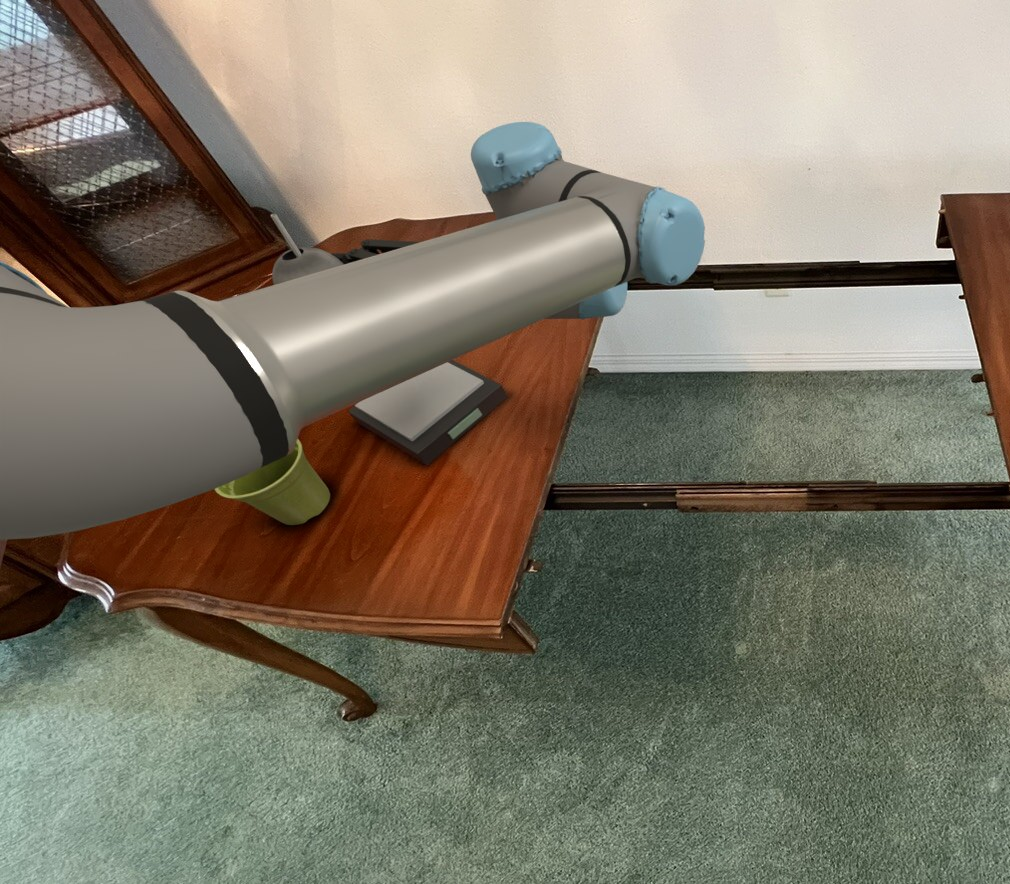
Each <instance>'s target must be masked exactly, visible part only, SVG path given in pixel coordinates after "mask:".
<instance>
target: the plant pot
mask: <svg viewBox="0 0 1010 884" xmlns="http://www.w3.org/2000/svg"><path fill="white" fill-rule="evenodd" d="M214 491H215V493H216V494H218V495H219V496H221V497H223V498H225V499H228V500H236V501H239V502H242V503H245V504H247V505H249V506H251V507H253V508H255V509H257V510H258V511H260V512H262V513H264V514H266V515H268V516H269V517H271V518H273V519H275V520H277V521H278V522H280V523H282V524H284V525H288V526H298V525H303V524H305V523H306V522H308V521H309V520H310V519H312V518H314V517H317V516H318V515H320V514H321V513H322V512H323V511H325V509H326V508H327V506H328V504H329V502H330V500H331V493H330V492H331V491H330V490H329V488H328V486H327V485H326V483H325V482H324V481H323V479H322V478H321V477H320V476H319V474H318V473H317V471H315V469H314V468H313V466H312V465H311V464H310V462H309V461H308V459H307V458H306V454H305V452H304V448H303V443H302V442H301V440H299V438H298V439H297V442H296V445H295V448H294V451H293V452H292V453H291V454H289V455H287V456H285V457H283V458H281V459H279V460H277V461H274V462H272V463H270V464H268V465H266V466H264V467H262V468H260V469H258V470H256V471H254V472H252V473H250V474H248V475H246V476H244V477H241V478H239V479H237V480H234V481H232V482H229V483H227V484H225V485H222V486H220V487H218V488H215V489H214Z"/></svg>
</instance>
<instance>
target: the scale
mask: <svg viewBox="0 0 1010 884" xmlns="http://www.w3.org/2000/svg"><path fill="white" fill-rule="evenodd" d="M508 398H509V396H508V394H507V392H506V391H505V388H504V387H503V385H502V384H501V383H499V382H497V381H496V380H495V381H494V380H493V379H491V378H489V377H488V376H485V375H483V374H481V373H479V372H478V371H475V370H473V369H471V368H469V367H467V366H465V365H464V364H462V363H460V362H458V361H456V360H455V359H454V360H451V361H449V362H447V363H445V364H443V365H440V366H438V367H436V368H434V369H431V370H429V371H427V372H425V373H423V374H420V375H418V376H416V377H414V378H411V379H409V380H407V381H405V382H403V383H400V384H398V385H396V386H394V387H392V388H389V389H387V390H385V391H383V392H380V393H378V394H376V395H374V396H372V397H369V398H367V399H365V400H363V401H360V402H358V403H356V404H354V406H353V407H352V408H351V409H349V410H348V411H347V412H348V414H349V416H351V417H352V418H353V420H355V422H356V423H357V424H358V425H360V426H362V427H363V428H365V429H366V430H367V431H369V432H371V433H373V434H374V435H376V436H378V437H379V438H381V439H383V440H384V441H386V442H387V443H389V444H390V445H392V446H394V447H396V448H397V449H399V450H400V451H402V452H403V453H405V454H407V455H408V456H410V457H411V458H413V459H415V460H416V461H418V462H419V463H421V464H423V465H425V466H426V467H427V466H428V465H430V464H431V463H432V462H433V461H434V460H435V459H437V458H438V457H439V456H440V455H442V454H443V453H444V452H445V451H446V450H447V449H448V448H450V447H451V446H452V445H453V444H455V443H456V442H457V441H458V440H459V439H460V438H462V437H463V436H464V435H465V434H466V433H467V432H469V431H470V430H471V429H472V428H474V427H475V426H476V425H477V424H478V423H479V422H481V420H483V419H484V418H485V417H486V416H488V415H489V414H490V413H491V412H492V411H493V410H495V408H497V407H498V406H500V404H502V403H504V401H505V400H506V399H508Z"/></svg>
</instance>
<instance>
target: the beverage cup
mask: <svg viewBox="0 0 1010 884" xmlns="http://www.w3.org/2000/svg"><path fill="white" fill-rule="evenodd" d="M270 218H271V219H272V221H273V223H274V225H275V226H276V227H277V229H278V230H279V232H280V233H281V235H282V236H283V238H284V240H285V241H286V243H287V245H288V246H289V248H290V249H288V250H286V251H285V252H283V253H282V254H280V255H279V257H278V258H277V259H276V260H275V262H274V264H273V268H272V272H271V278H272V283H273V285H276V284H280V283H283V282H286V281H290V280H293V279H297V278H300V277H304V276H307V275H310V274H314V273H317V272H321V271H324V270H328V269H331V268H335V267H338V266H341V265H344V264H343V263H342V262H341V261H340V260H339V259H338V258H336V257H335V256H333V255H331V254H330V252H328V251H326V250H323V249H321V248H317V247H310V246H298V247H297V245H296V243H295V242H294V240H293V238H292V237H291V235H290V233H289V232H288V230H287V229H286V227H285V225H284V224H283V222H282V221H281V220H280V218H279V216H278V215H277V214H276V213H272V214H270Z"/></svg>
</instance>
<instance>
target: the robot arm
mask: <svg viewBox="0 0 1010 884" xmlns="http://www.w3.org/2000/svg"><path fill="white" fill-rule="evenodd" d="M562 155H563V151H562V149H561V148H560V146H558V143H557V141H556V139H555V136H554V135H553V133H552V132H551V131H550V130H549V129H548V127H546V126H545V125H543V124H540V123H537V122H532V121H516V122H510V123H506V124H501V125H499V126H496V127H493V128H492V129H490V130H488V131H486V132H484V133H483V134H481V135H480V136H479V137H478V138H477V139H476V140H475V142H474V143H473V144H472V146H471V149H470V159H471V162H472V164H473V167H474V170H475V172H476V175H477V177H478V181H479V183H480V185H481V191H482V194H483V195H485V197H486V199H487V202H488V204H489V206H490V208H491V210H492V212H493V214H494V216H495V218H496V220H492V221H488V222H486V223H483V224H479V225H476V226H472V227H469V228H465V229H462V230H457V231H455V232H451V233H448V234H445V235H441V236H438V237H434V238H430V239H428V240H424V241H413V240H411V241H410V240H391V239H371V238H367V239H364V240H362V241H360V246H361V247H360V248H353V249H350V250H349V251H348V252H331V253H330V252H329V253H330V254H331V255H333V256H335V257H336V258H338V259H339V260H340V261H341V262H342V263H343V264H344V265H341V266H338V267H335V268H331V269H328V270H324V271H321V272H317V273H314V274H310V275H307V276H304V277H300V278H297V279H293V280H290V281H286V282H283V283H280V284H276V285H274V284H272V285H269V286H266V287H263V288H259V289H256V290H252V291H249V292H245V293H242V294H239V295H235V296H232V297H228V298H225V299H221V300H218V301H217V300H210V299H208V298H205V297H202V296H200V295H198V294H197V295H196V294H195V293H191V292H189V291H186V290H175V291H171V292H170V291H169V292H167V293H164V294H160V295H157V296H153V297H149V298H144V299H142V300H137V301H133V302H125V303H120V304H116V305H104V306H91V307H90V306H89V307H80V306H79V307H73V306H71V307H70V306H68V305H66V304H64V303H63V302H62V301H60V300H58V299H57V298H55V297H53V296H52V295H50V294H48V292H47V291H46V290H45V289H44V288H43V287H42V286H41V285H39V284H38V283H37V282H36V281H34V280H33V279H32V278H31V277H30V276H28V275H27V274H26V273H24V272H22V271H20V270H18V269H16V268H15V267H13V266H11V265H10V264H8V263H6V262H4V261H1V260H0V568H1V567H2V564H3V558H4V556H5V550H6V547H7V542H8V540H23V539H37V538H42V537H49V536H54V535H55V536H56V535H61V534H66V533H73V532H78V531H79V532H80V531H82V530H87V529H90V528H94V527H99V526H103V525H107V524H110V523H116V522H119V521H123V520H127V519H129V518H133V517H137V516H140V515H143V514H146V513H150V512H152V511H155V510H160V509H162V508H166V507H168V506H172V505H174V504H176V503H177V504H178V503H180V502H182V501H185V500H188V499H191V498H194V497H196V496H199V495H201V494H204V493H207V492H210V491H213V490H215V488H218V487H220V486H222V485H225V484H227V483H229V482H232V481H234V480H237V479H239V478H241V477H244V476H246V475H248V474H250V473H252V472H254V471H256V470H258V469H260V468H262V467H264V466H266V465H268V464H270V463H272V462H274V461H277V460H279V459H281V458H283V457H285V456H287V455H289V454H291V453H292V452H293V451H294V448H295V445H296V442H297V439H299V435H300V433H301V431H302V430H303V428H305V427H308V426H309V425H312V424H314V423H316V422H318V421H320V420H323V419H325V418H328V417H329V416H332V415H333V414H337V413H338V412H341V411H343V410H345V409H348V408H349V407H352V406H355V405H356V404H357V403H359V402H360V401H363V400H365V399H367V398H369V397H372V396H374V395H376V394H378V393H380V392H383V391H385V390H387V389H389V388H392V387H394V386H396V385H398V384H400V383H403V382H405V381H407V380H409V379H411V378H414V377H416V376H418V375H420V374H423V373H425V372H427V371H429V370H431V369H434V368H436V367H438V366H440V365H443V364H445V363H447V362H449V361H451V360H454V361H455V360H457V359H458V358H460V357H463V356H464V355H467V354H470V353H472V352H473V351H476V350H478V349H480V348H482V347H485V346H487V345H489V344H492V343H494V342H496V341H497V340H499V339H502V338H504V337H507V336H510V335H512V334H514V333H515V332H517V331H520V330H522V329H525V328H527V327H529V326H531V325H533V324H536V323H538V322H539V321H542V320H582V321H585V320H587V319H599V318H607V317H613V316H616V315H617V314H619V313H620V312H621V311H622V309H623V308H624V306H625V304H626V300H627V296H628V282H630V281H632V280H634V279H644V280H645V281H646V282H647V283H649V284H660V285H664V286H678V285H680V284H682V283H685V282H686V281H687V280H688V279H689V278H690V277H691V276H692V275H693V274H694V273H695V271H696V270H697V268H698V266H699V264H700V262H701V260H702V257H703V253H704V250H705V245H706V240H705V230H706V226H705V221H704V218H703V215H702V212H701V211H700V209H699V208H698V206H697V205H696V204H695V203H694V202H693V201H691V200H690V199H689V198H687V197H684V196H682V195H680V194H676V193H674V192H671V191H668V190H666V188H664V187H661V186H653V185H649V184H645V183H642V182H638V181H635V180H631V179H627V178H624V177H621V176H616V175H613V174H609V173H605V172H602V171H599V170H596V169H593V168H589V167H585V166H582V165H579V164H575V163H572V162H569V161H565V160H564V159H563V156H562ZM380 252H381V253H380Z"/></svg>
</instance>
